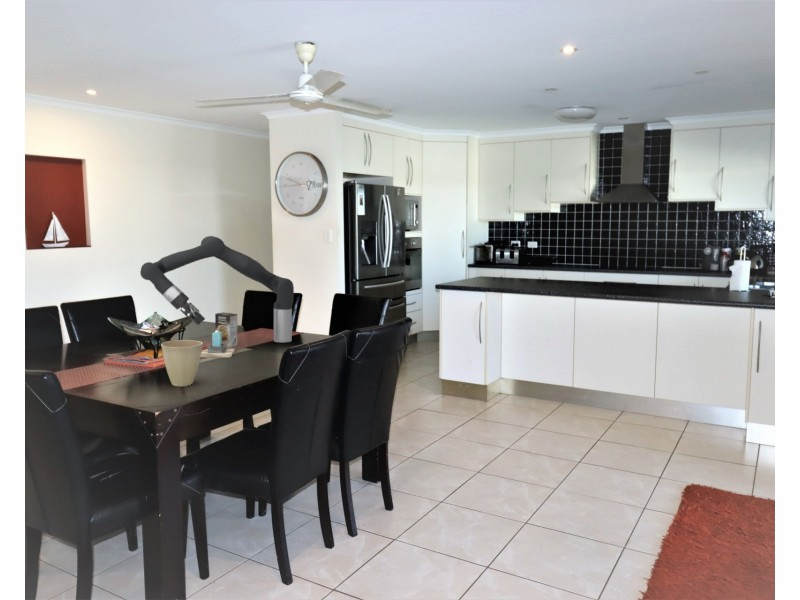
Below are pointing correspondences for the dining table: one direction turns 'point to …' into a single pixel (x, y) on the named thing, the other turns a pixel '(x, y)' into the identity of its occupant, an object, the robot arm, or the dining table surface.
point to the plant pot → (182, 360)
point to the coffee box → (227, 327)
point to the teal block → (217, 339)
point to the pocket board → (218, 351)
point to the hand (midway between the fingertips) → (201, 321)
